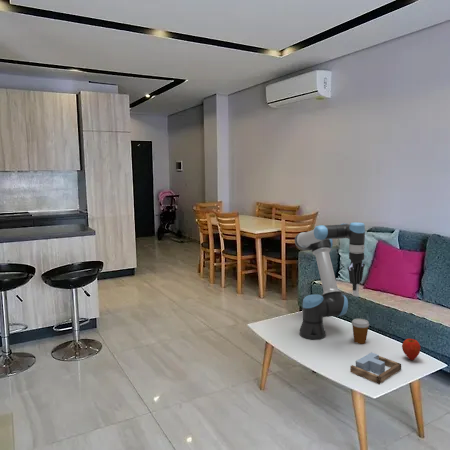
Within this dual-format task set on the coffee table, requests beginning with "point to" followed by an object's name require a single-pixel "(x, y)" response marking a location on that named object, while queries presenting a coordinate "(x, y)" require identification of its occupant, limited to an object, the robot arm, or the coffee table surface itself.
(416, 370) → the coffee table surface
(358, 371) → the walnut fence
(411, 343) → the apple
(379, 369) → the t block
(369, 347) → the coffee table surface
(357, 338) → the disposable coffee cup
